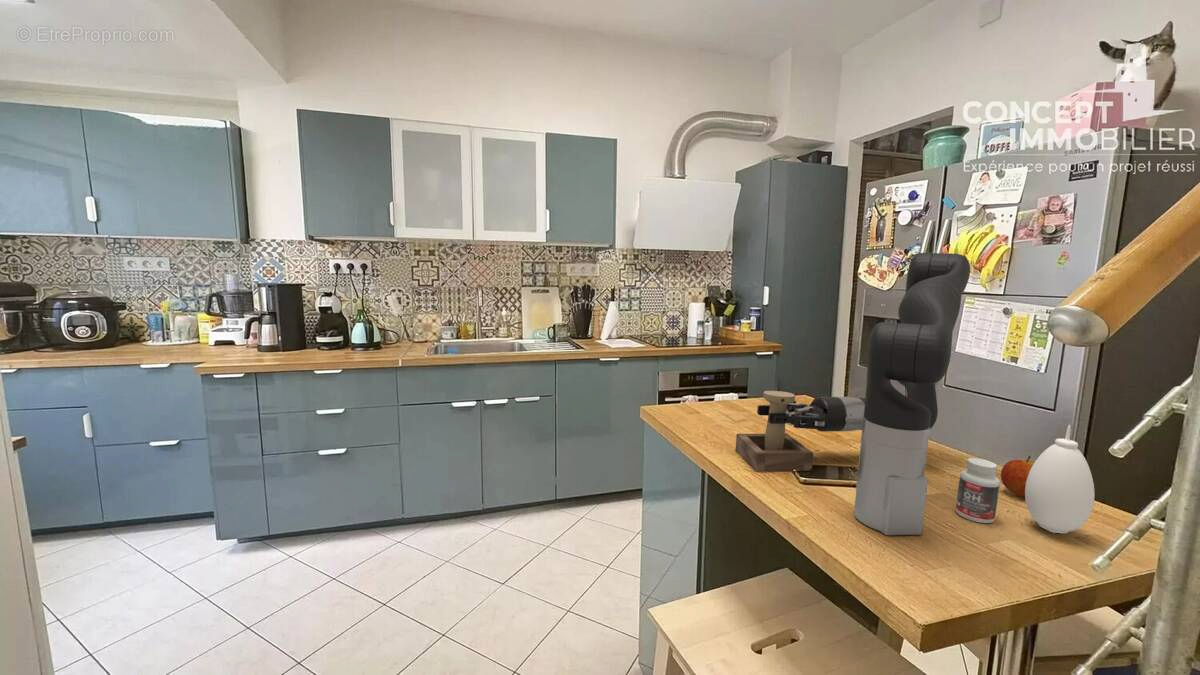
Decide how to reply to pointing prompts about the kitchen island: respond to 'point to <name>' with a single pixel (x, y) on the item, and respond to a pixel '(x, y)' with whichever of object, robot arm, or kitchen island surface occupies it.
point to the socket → (773, 454)
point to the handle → (776, 431)
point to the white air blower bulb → (1060, 487)
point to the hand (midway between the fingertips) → (763, 414)
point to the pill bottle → (978, 491)
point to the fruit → (1016, 475)
